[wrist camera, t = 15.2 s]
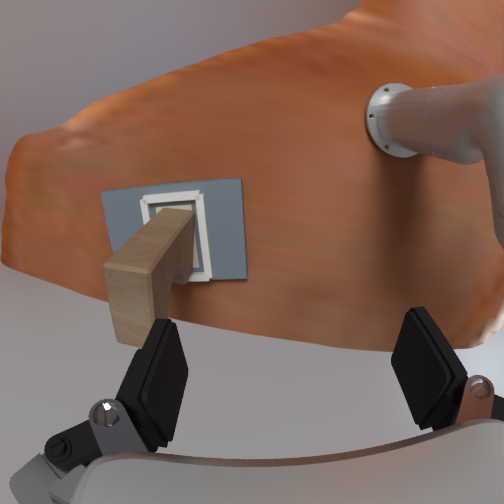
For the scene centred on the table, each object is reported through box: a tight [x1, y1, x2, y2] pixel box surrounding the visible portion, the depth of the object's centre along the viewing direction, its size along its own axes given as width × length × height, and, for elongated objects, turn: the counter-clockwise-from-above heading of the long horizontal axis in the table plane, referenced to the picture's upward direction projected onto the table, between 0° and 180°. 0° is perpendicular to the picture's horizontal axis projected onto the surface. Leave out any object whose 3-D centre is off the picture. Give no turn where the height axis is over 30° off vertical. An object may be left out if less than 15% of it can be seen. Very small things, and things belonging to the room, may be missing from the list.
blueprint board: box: [101, 178, 247, 282], centre depth 46 cm, size 24×17×2 cm
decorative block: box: [103, 208, 194, 348], centre depth 37 cm, size 11×6×20 cm, turn 172°
